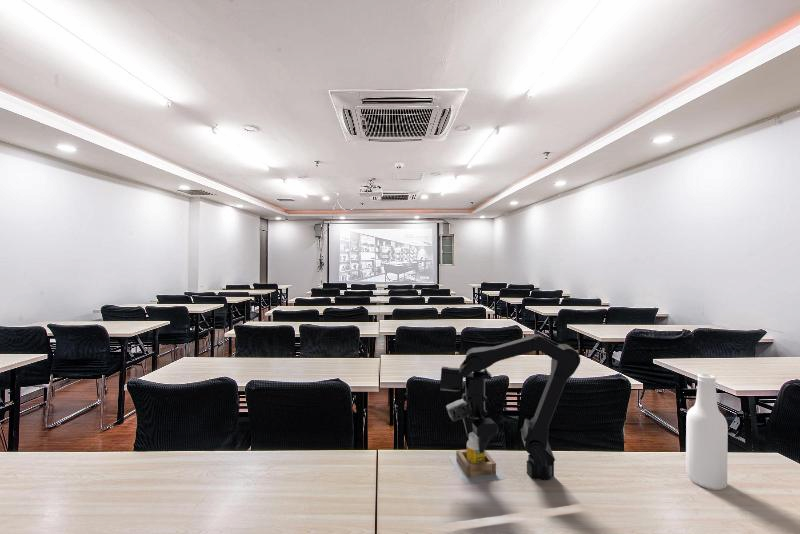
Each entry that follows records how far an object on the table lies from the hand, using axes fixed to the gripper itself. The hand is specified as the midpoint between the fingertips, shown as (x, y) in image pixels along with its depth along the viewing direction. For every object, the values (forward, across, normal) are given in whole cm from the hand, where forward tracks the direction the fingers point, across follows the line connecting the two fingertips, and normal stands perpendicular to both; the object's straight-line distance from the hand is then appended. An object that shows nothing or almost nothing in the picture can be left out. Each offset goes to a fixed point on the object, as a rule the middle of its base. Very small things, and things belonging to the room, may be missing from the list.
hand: (474, 444), depth 105 cm
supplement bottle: (+7, 0, 0) cm, 7 cm away
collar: (+7, 0, 0) cm, 7 cm away
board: (+8, 0, 0) cm, 8 cm away
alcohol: (+8, +17, +62) cm, 65 cm away
